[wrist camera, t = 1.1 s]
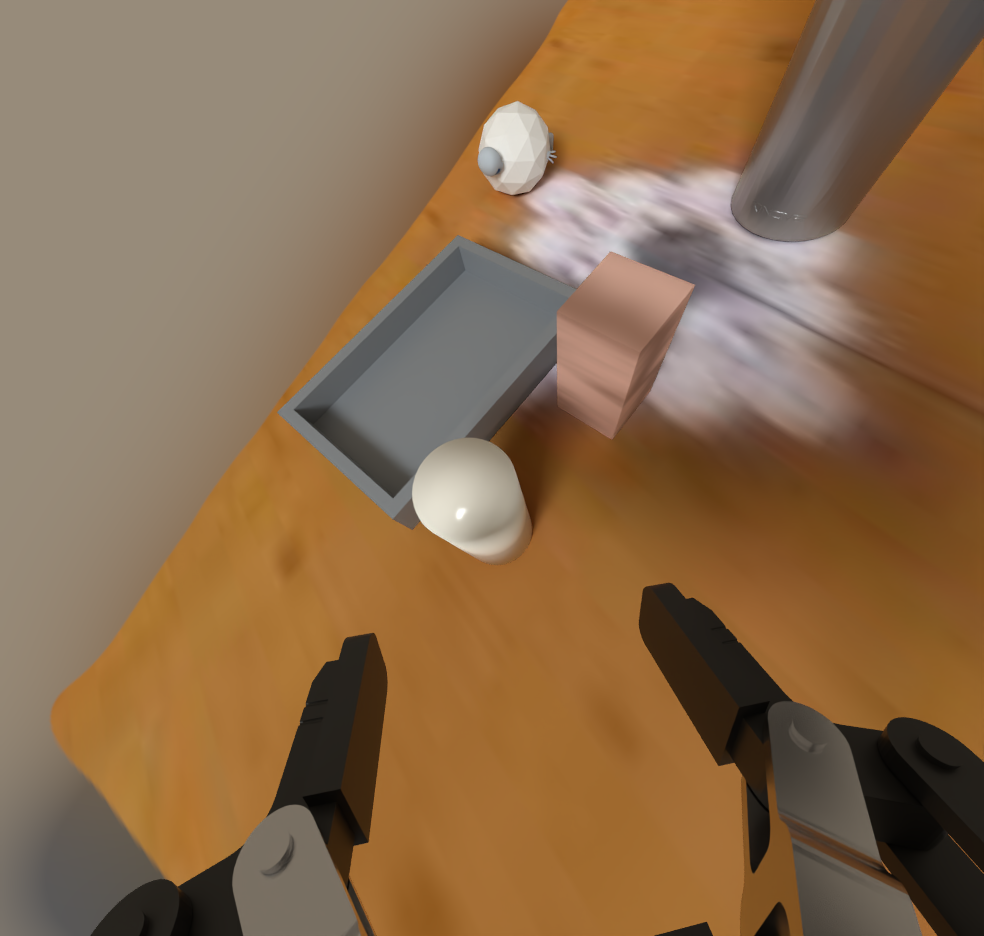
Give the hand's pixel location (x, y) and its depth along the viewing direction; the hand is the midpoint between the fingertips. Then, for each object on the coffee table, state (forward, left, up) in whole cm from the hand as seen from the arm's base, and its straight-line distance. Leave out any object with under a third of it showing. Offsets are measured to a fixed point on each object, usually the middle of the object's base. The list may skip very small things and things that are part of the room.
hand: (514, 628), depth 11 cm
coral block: (-16, -6, -14) cm, 22 cm away
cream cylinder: (-3, -6, -14) cm, 15 cm away
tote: (-10, -18, -14) cm, 25 cm away
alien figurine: (-33, -28, -14) cm, 45 cm away
